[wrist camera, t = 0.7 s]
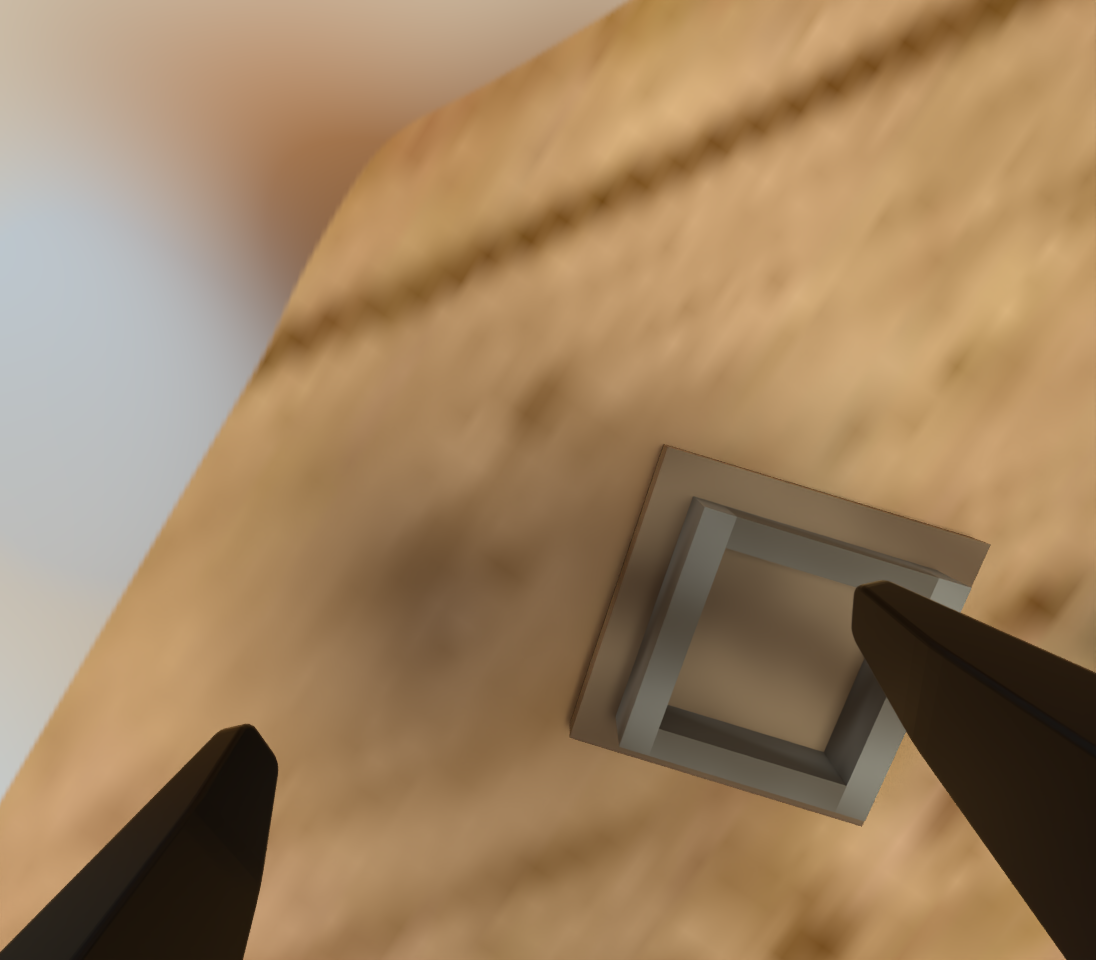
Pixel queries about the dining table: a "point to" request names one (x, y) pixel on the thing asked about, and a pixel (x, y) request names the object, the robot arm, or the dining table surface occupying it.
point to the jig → (758, 634)
